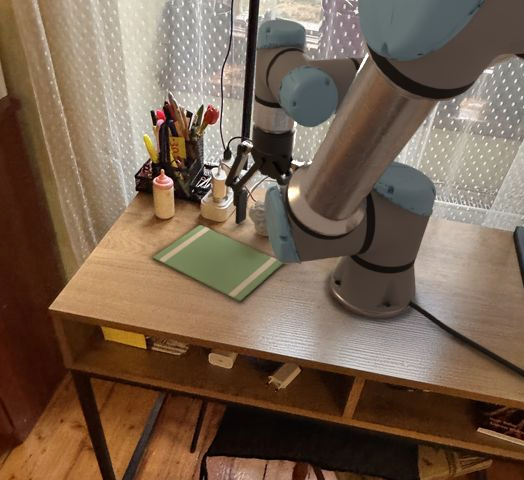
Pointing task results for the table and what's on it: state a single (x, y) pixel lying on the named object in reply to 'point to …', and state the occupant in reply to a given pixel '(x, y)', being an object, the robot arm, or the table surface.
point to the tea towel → (219, 262)
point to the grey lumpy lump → (259, 217)
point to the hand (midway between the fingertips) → (265, 232)
